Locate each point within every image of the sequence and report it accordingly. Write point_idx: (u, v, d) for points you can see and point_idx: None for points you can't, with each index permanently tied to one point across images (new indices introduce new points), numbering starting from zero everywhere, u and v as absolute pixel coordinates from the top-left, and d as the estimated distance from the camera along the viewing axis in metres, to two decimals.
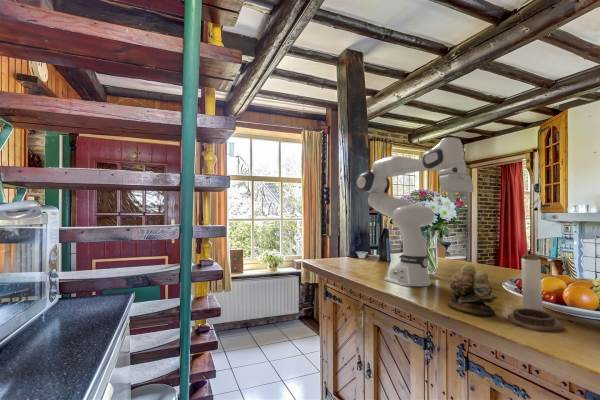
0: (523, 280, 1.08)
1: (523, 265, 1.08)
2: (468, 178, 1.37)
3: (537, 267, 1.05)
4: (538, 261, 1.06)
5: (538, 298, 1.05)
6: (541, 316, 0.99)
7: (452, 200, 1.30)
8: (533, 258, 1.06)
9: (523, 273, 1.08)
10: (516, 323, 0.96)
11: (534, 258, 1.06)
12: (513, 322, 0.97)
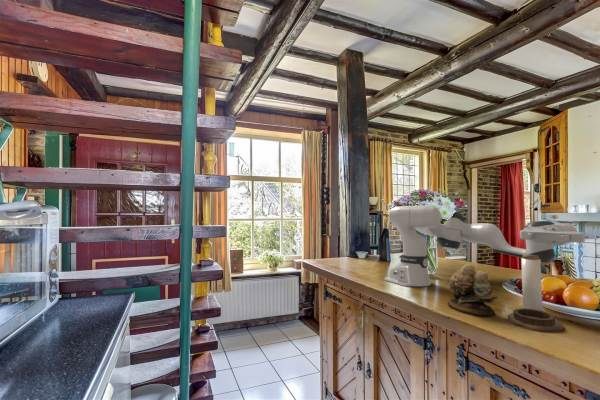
0: (523, 280, 1.08)
1: (523, 265, 1.08)
2: None
3: (537, 267, 1.05)
4: (538, 261, 1.06)
5: (538, 298, 1.05)
6: (541, 316, 0.99)
7: None
8: (533, 258, 1.06)
9: (523, 273, 1.08)
10: (516, 323, 0.96)
11: (534, 258, 1.06)
12: (513, 322, 0.97)
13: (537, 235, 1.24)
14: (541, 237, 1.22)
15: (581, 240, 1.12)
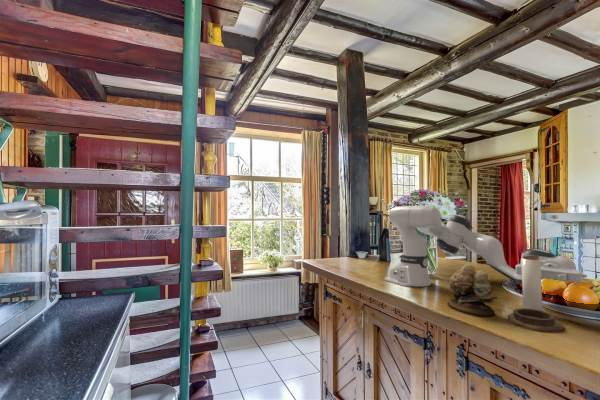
0: (523, 280, 1.08)
1: (523, 265, 1.08)
2: (572, 269, 1.13)
3: (537, 267, 1.05)
4: (538, 261, 1.06)
5: (538, 298, 1.05)
6: (541, 316, 0.99)
7: None
8: (533, 258, 1.06)
9: (523, 273, 1.08)
10: (516, 323, 0.96)
11: (534, 258, 1.06)
12: (513, 322, 0.97)
13: None
14: None
15: (579, 280, 1.07)
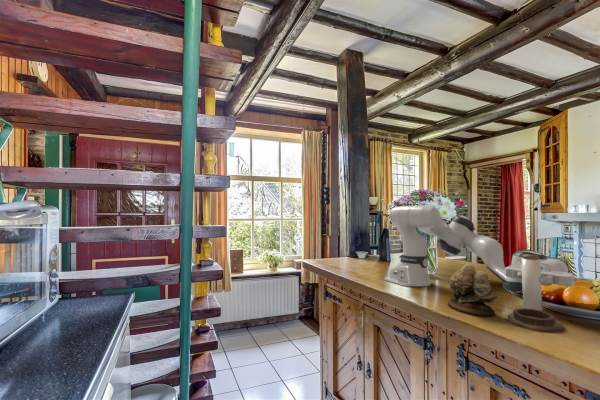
0: (523, 280, 1.08)
1: (523, 265, 1.08)
2: (563, 272, 1.08)
3: (537, 267, 1.05)
4: (538, 261, 1.06)
5: (538, 298, 1.05)
6: (541, 316, 0.99)
7: None
8: (533, 258, 1.06)
9: (523, 273, 1.08)
10: (516, 323, 0.96)
11: (534, 258, 1.06)
12: (513, 322, 0.97)
13: None
14: None
15: (570, 284, 1.02)
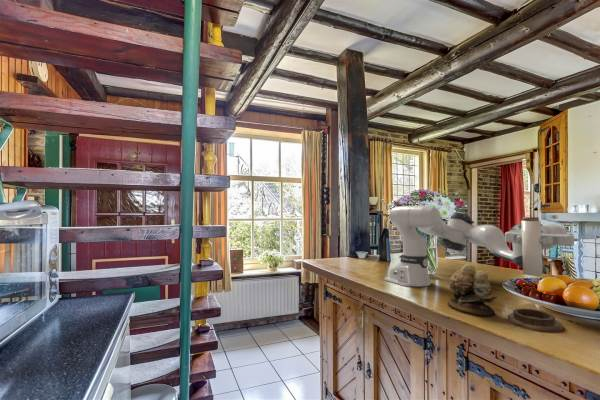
0: (523, 242, 1.08)
1: (523, 227, 1.07)
2: (563, 234, 1.08)
3: (537, 228, 1.05)
4: (538, 222, 1.05)
5: (538, 259, 1.04)
6: (541, 316, 0.99)
7: None
8: (533, 219, 1.05)
9: (523, 235, 1.07)
10: (516, 323, 0.96)
11: (534, 219, 1.05)
12: (513, 322, 0.97)
13: None
14: None
15: (570, 243, 1.02)
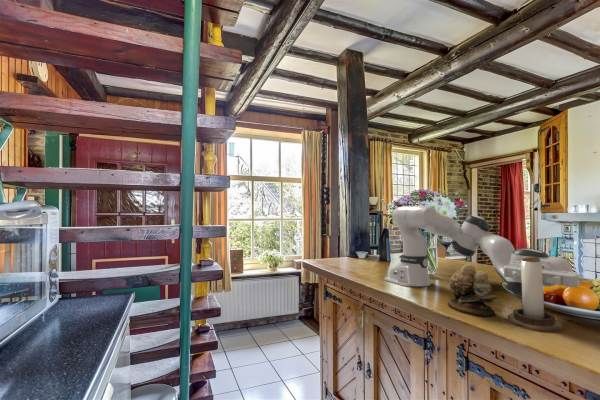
0: (523, 284, 0.98)
1: (523, 268, 0.98)
2: (567, 271, 0.98)
3: (538, 270, 0.95)
4: (539, 263, 0.96)
5: (539, 304, 0.95)
6: None
7: None
8: (534, 260, 0.96)
9: (523, 277, 0.98)
10: (516, 323, 0.96)
11: (535, 260, 0.96)
12: (513, 322, 0.97)
13: None
14: None
15: (575, 284, 0.92)
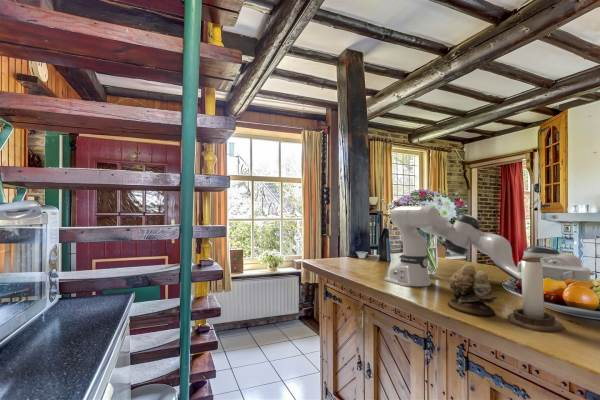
0: (523, 285, 0.98)
1: (523, 268, 0.98)
2: (578, 267, 1.06)
3: (538, 271, 0.95)
4: (540, 264, 0.96)
5: (539, 304, 0.95)
6: None
7: None
8: (534, 260, 0.96)
9: (523, 277, 0.98)
10: (516, 323, 0.96)
11: (535, 260, 0.96)
12: (513, 322, 0.97)
13: None
14: None
15: (586, 278, 1.00)
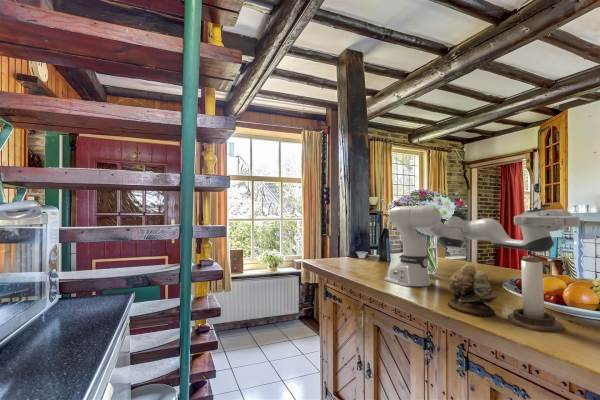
0: (523, 285, 0.98)
1: (523, 268, 0.98)
2: (569, 216, 1.15)
3: (538, 271, 0.95)
4: (540, 264, 0.96)
5: (539, 304, 0.95)
6: None
7: None
8: (534, 260, 0.96)
9: (523, 277, 0.98)
10: (516, 323, 0.96)
11: (535, 260, 0.96)
12: (513, 322, 0.97)
13: (531, 220, 1.20)
14: (535, 222, 1.19)
15: (576, 224, 1.09)
